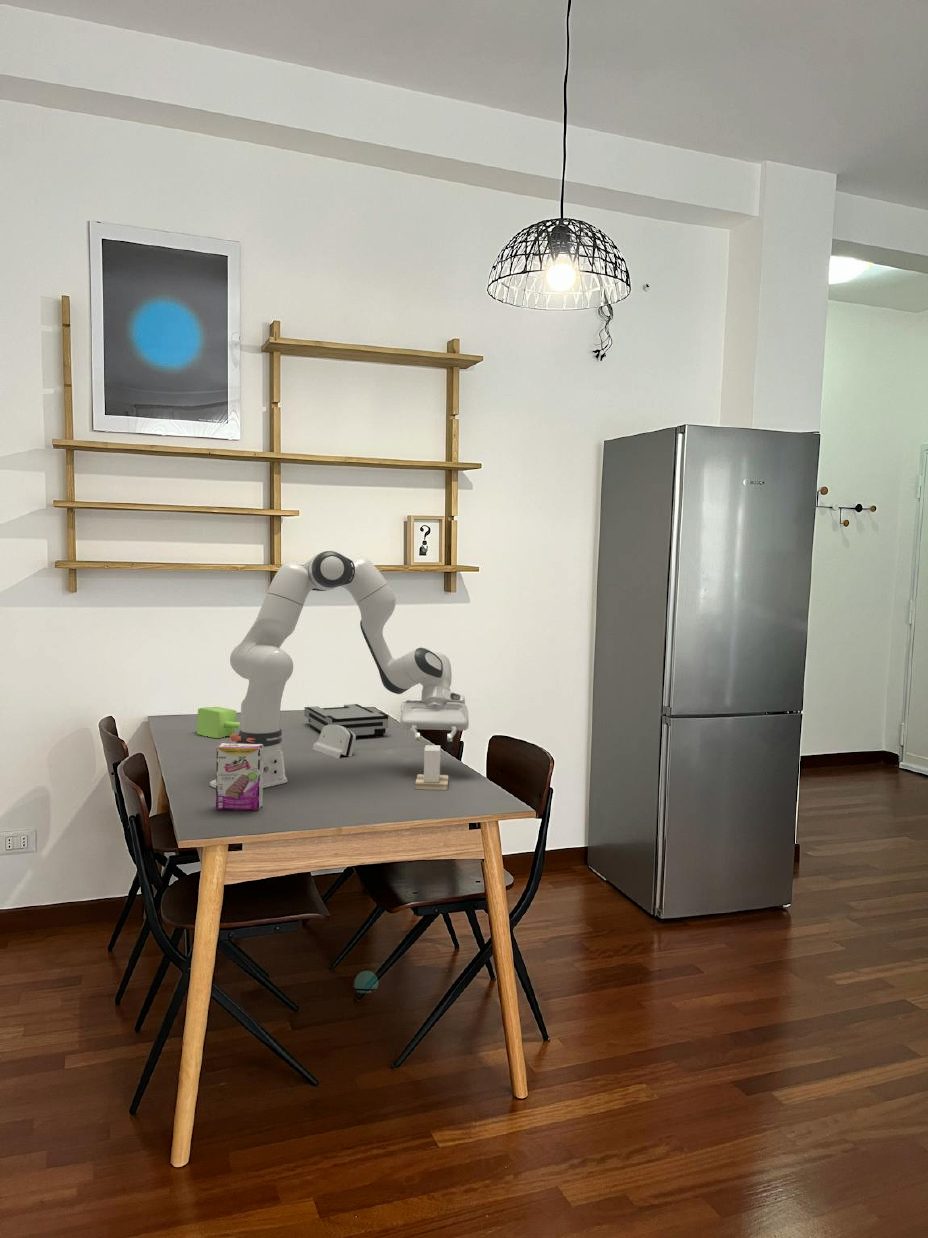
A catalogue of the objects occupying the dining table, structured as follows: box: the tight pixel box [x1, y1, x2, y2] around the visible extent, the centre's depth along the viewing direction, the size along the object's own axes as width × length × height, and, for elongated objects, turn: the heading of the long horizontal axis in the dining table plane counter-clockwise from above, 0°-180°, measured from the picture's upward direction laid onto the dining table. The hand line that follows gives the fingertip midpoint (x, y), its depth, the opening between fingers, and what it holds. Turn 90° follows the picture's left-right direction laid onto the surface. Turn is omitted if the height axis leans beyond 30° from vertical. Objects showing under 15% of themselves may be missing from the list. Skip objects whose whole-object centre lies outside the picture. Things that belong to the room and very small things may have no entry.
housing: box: [423, 744, 441, 782], centre depth 266 cm, size 7×4×9 cm, turn 179°
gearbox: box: [196, 706, 241, 739], centre depth 327 cm, size 18×10×10 cm, turn 57°
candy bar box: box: [215, 742, 264, 811], centre depth 238 cm, size 11×5×16 cm, turn 92°
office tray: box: [304, 703, 389, 738], centre depth 339 cm, size 21×32×8 cm, turn 27°
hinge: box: [311, 725, 357, 759], centre depth 304 cm, size 17×5×10 cm, turn 40°
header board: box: [414, 773, 449, 791], centre depth 266 cm, size 11×9×5 cm
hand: (433, 740), depth 271 cm, fingers open, 8 cm apart
